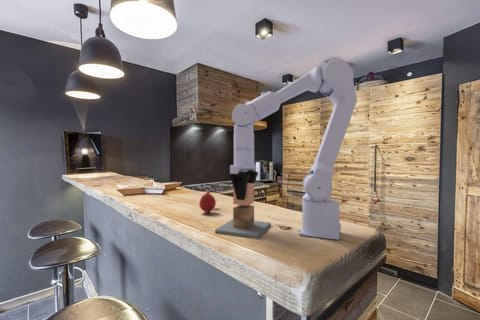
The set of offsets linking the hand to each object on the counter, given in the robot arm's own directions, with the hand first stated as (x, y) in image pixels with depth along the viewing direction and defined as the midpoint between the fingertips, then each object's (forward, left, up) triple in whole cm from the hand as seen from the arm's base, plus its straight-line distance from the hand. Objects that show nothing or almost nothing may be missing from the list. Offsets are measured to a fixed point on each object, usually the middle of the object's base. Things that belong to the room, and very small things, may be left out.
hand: (244, 198), depth 63 cm
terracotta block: (0, 0, -2) cm, 2 cm away
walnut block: (0, 0, -8) cm, 8 cm away
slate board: (0, 0, -9) cm, 9 cm away
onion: (+19, -12, -9) cm, 24 cm away
